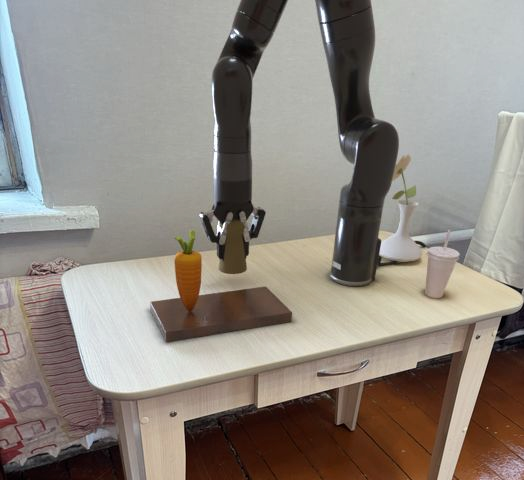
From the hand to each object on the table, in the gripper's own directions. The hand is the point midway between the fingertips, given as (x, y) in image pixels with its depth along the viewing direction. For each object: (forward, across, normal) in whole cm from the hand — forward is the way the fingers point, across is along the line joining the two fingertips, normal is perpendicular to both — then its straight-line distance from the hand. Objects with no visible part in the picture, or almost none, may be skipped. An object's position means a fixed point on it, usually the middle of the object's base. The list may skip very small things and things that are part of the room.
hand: (233, 258), depth 106 cm
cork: (+2, 0, 0) cm, 2 cm away
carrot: (+4, -13, -14) cm, 20 cm away
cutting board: (+6, -7, -14) cm, 17 cm away
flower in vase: (+7, +44, +3) cm, 45 cm away
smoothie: (+7, +40, -18) cm, 44 cm away
